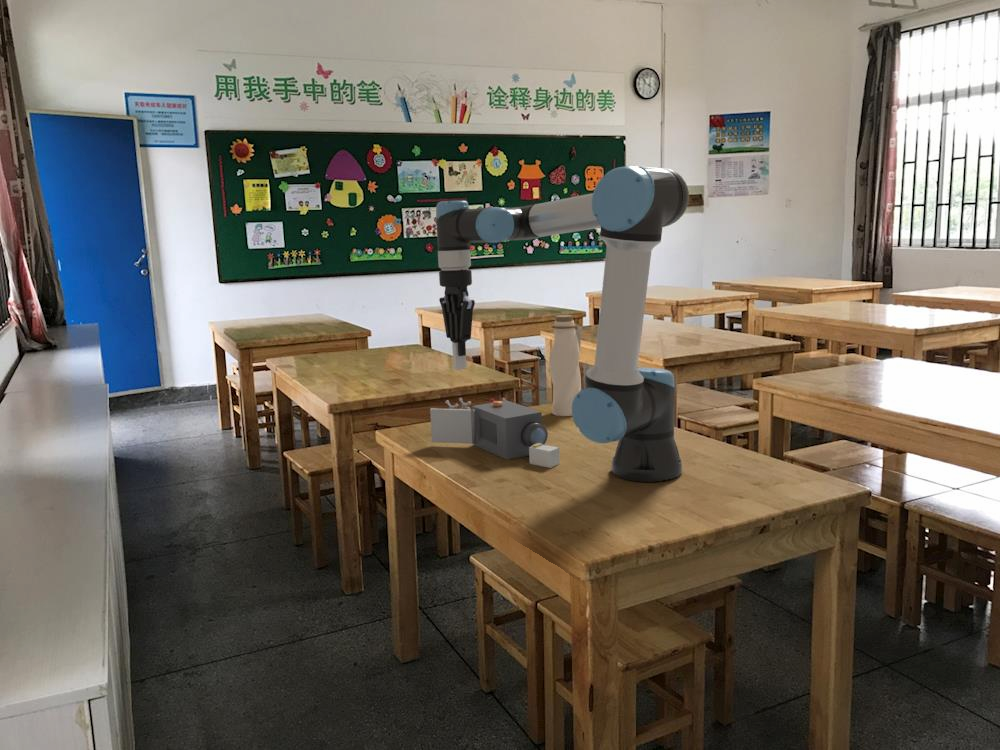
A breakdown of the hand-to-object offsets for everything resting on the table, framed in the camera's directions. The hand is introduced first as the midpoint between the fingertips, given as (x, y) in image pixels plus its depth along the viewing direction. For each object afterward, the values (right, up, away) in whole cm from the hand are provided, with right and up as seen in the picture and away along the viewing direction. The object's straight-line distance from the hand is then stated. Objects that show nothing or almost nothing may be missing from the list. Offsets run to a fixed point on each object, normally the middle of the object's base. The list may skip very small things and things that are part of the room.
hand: (460, 368), depth 193 cm
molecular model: (+3, -17, +24) cm, 29 cm away
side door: (-2, -18, +10) cm, 21 cm away
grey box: (+12, -20, +6) cm, 24 cm away
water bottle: (+29, -13, +41) cm, 52 cm away
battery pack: (+20, -22, -6) cm, 30 cm away
